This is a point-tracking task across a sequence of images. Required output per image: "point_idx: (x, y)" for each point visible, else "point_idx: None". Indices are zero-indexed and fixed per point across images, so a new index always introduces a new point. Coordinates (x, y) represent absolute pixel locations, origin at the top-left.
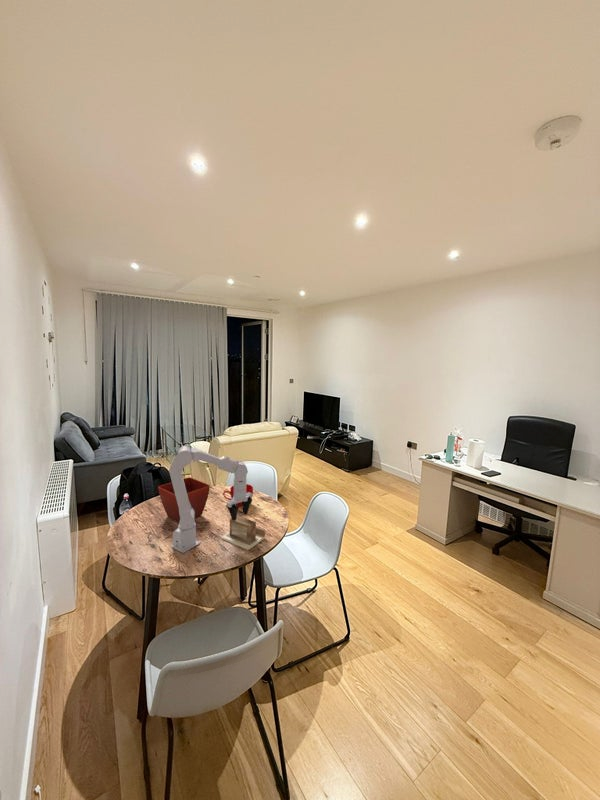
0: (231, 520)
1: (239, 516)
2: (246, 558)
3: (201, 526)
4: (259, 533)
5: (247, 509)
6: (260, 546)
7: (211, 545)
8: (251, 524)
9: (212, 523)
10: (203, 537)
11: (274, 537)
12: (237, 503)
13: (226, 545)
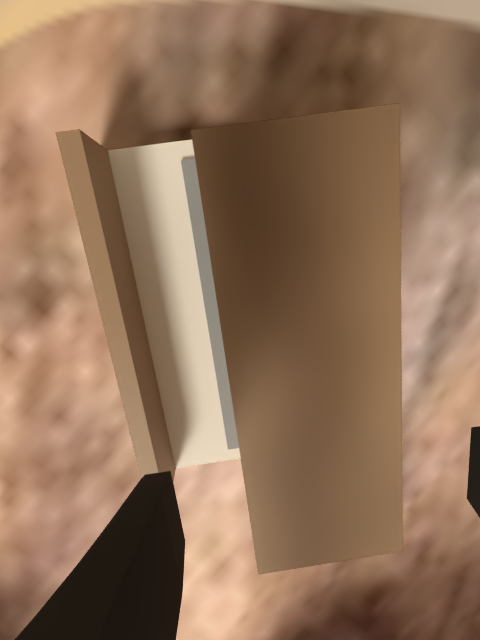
0: (393, 508)
1: (251, 517)
2: (467, 23)
3: (336, 637)
4: (116, 216)
5: (126, 558)
6: (236, 73)
7: (473, 408)
8: (325, 126)
9: (260, 627)
10: (428, 524)
11: (8, 83)
12: None
13: (412, 329)
